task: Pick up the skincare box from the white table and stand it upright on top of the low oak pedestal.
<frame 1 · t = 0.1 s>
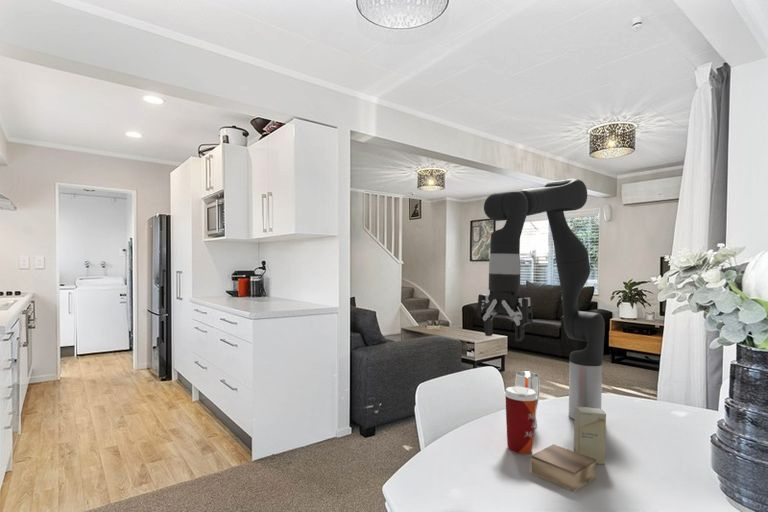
hand: (503, 338, 105), 29 cm above the table, tool pointing down, fingers open, 8 cm apart
pedestal: (562, 475, 96), on the table
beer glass: (526, 425, 126), on the table
coffee cup: (519, 449, 109), on the table
skincare box: (589, 460, 104), on the table
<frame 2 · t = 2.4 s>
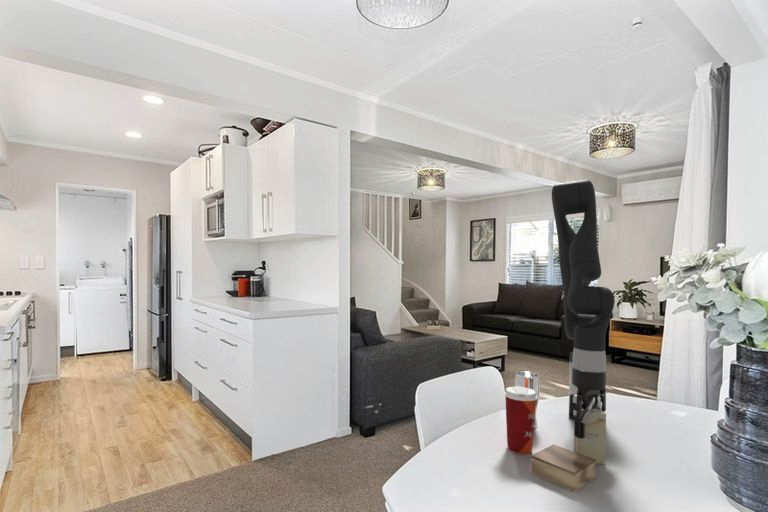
hand: (587, 433, 104), 6 cm above the table, tool pointing down, fingers open, 8 cm apart
nothing on the table moved.
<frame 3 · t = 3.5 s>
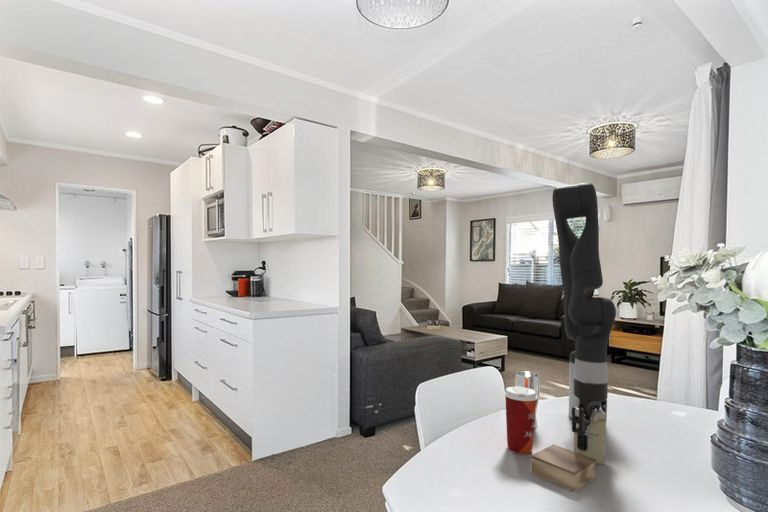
hand: (589, 445, 104), 3 cm above the table, tool pointing down, fingers closed on skincare box, 7 cm apart
skincare box: (589, 460, 104), on the table, touching gripper
everything else where it was.
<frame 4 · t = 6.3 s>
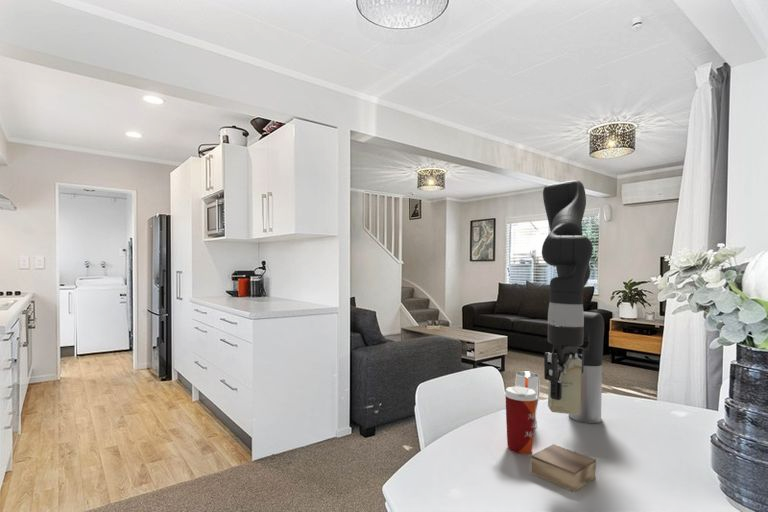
hand: (564, 395, 96), 18 cm above the table, tool pointing down, fingers closed on skincare box, 7 cm apart
skincare box: (564, 411, 96), point 14 cm above the table, touching gripper
everything else where it was.
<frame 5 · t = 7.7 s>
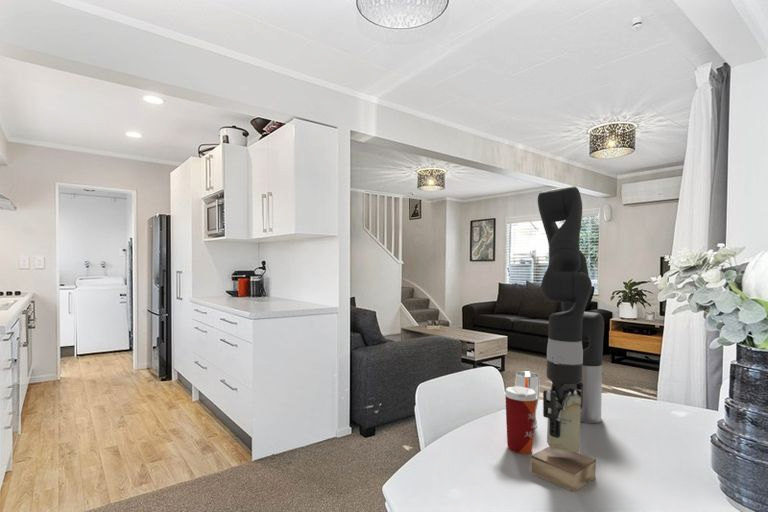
hand: (563, 432, 96), 10 cm above the table, tool pointing down, fingers closed on skincare box, 7 cm apart
skincare box: (563, 448, 96), point 6 cm above the table, touching gripper
everything else where it was.
when the fingers open (8 cm above the table, at t = 9.0 s): skincare box stays where it is, resting on pedestal.
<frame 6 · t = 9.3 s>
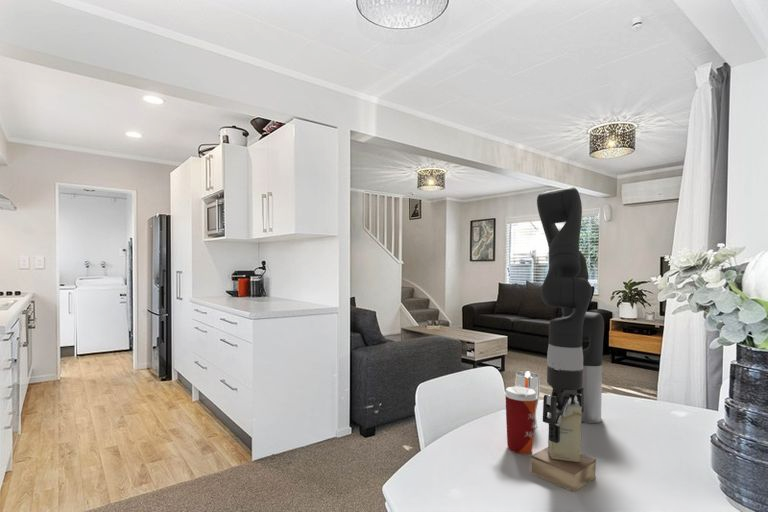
hand: (563, 436, 96), 9 cm above the table, tool pointing down, fingers open, 8 cm apart
skincare box: (563, 457, 96), point 4 cm above the table, touching pedestal
everything else where it was.
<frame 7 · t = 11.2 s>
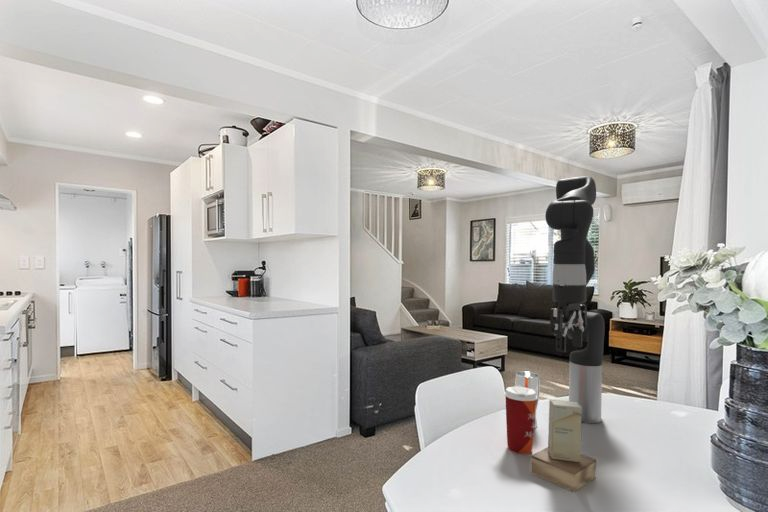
hand: (569, 349, 104), 27 cm above the table, tool pointing down, fingers open, 8 cm apart
nothing on the table moved.
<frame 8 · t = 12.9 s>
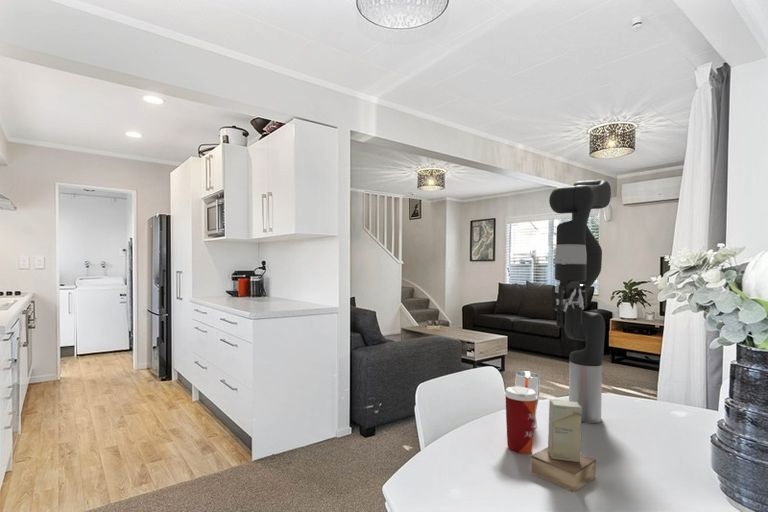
hand: (569, 324, 110), 32 cm above the table, tool pointing down, fingers open, 8 cm apart
nothing on the table moved.
at the end: skincare box inside the target area on the pedestal (0.4 cm from its centre), point 3.8 cm above the pedestal's base; skincare box tilted 0°; the gripper is holding nothing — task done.
